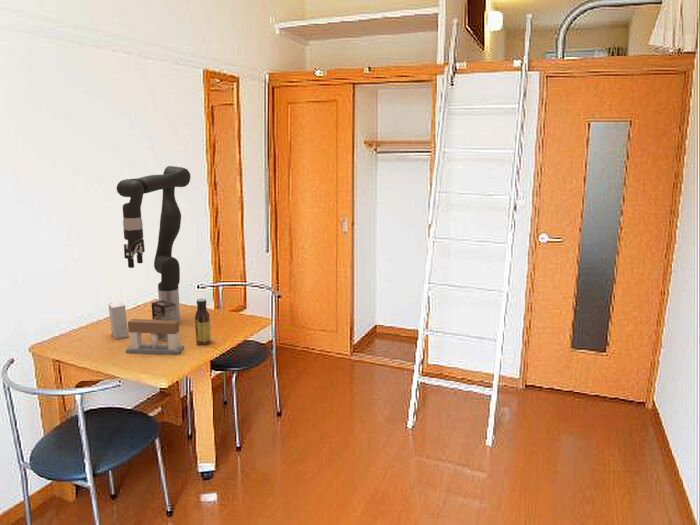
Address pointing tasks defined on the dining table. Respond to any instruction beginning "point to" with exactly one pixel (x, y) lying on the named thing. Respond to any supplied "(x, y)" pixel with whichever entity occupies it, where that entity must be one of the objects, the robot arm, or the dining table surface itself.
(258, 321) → the dining table surface
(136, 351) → the stand
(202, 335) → the sauce bottle
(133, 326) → the frame bar
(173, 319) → the coffee box
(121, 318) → the skincare box
